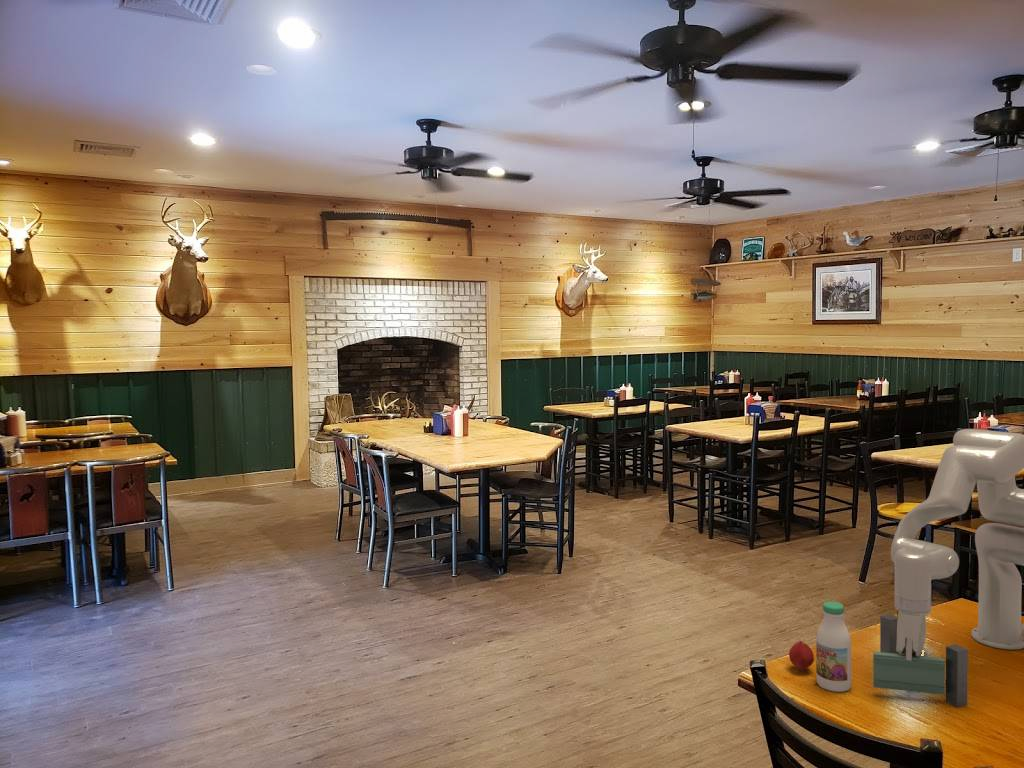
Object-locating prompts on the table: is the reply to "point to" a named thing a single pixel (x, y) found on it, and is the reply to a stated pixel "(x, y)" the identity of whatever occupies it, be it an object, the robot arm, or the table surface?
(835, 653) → the milk bottle
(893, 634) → the gate posts
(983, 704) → the table surface
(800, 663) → the onion
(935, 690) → the gate
